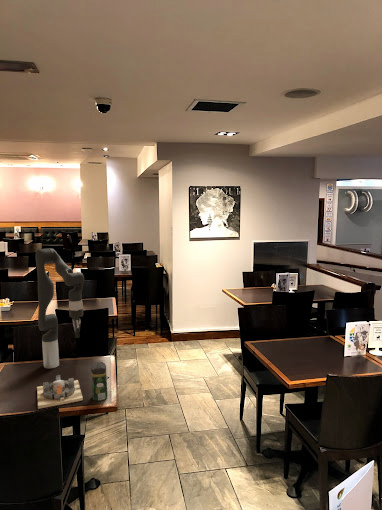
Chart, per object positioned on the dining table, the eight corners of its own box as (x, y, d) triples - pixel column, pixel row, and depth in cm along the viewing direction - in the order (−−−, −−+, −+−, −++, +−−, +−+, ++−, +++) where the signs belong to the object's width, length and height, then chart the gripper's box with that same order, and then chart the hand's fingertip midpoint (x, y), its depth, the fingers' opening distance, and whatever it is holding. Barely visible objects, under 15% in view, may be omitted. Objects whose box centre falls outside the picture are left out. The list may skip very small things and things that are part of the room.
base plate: (37, 389, 224) (36, 377, 223) (78, 382, 232) (77, 370, 231) (38, 408, 204) (37, 395, 203) (82, 400, 212) (82, 387, 211)
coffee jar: (92, 393, 219) (90, 361, 216) (107, 391, 221) (105, 359, 218) (92, 402, 210) (90, 368, 207) (107, 400, 212) (106, 367, 209)
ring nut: (73, 382, 228) (72, 372, 227) (75, 395, 213) (75, 385, 212) (43, 387, 223) (42, 377, 222) (43, 401, 208) (42, 390, 207)
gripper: (67, 305, 231) (69, 334, 233) (70, 311, 218) (71, 342, 221) (81, 304, 233) (82, 332, 236) (84, 310, 221) (85, 340, 224)
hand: (77, 337), depth 229 cm, fingers closed
